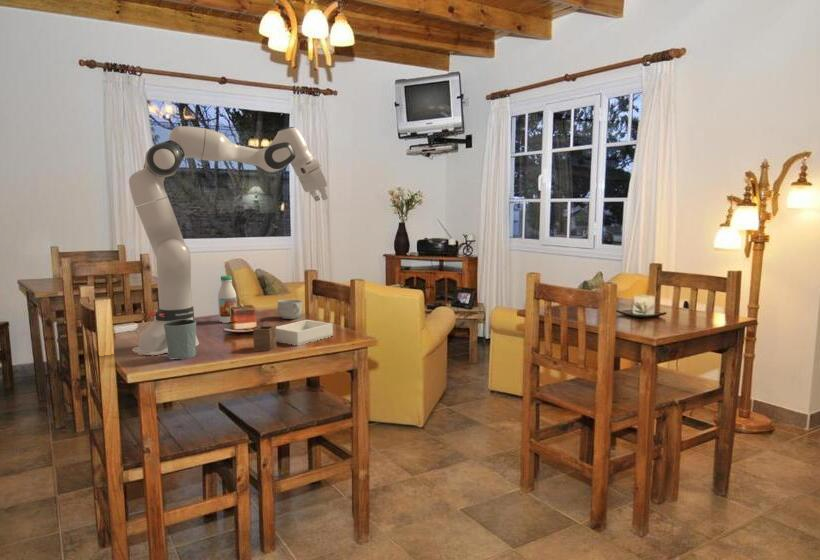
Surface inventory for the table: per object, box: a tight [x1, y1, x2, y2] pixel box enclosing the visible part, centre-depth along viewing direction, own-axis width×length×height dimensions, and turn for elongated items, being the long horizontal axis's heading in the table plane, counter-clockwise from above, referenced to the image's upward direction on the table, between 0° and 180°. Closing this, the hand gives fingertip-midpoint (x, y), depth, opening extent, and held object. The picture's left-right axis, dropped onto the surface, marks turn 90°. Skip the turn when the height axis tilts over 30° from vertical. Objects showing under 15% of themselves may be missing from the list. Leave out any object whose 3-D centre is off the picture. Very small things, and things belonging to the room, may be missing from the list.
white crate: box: [276, 319, 334, 347], centre depth 226 cm, size 18×14×5 cm
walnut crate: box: [252, 325, 278, 351], centre depth 212 cm, size 6×6×8 cm
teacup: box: [277, 299, 303, 320], centre depth 265 cm, size 14×11×8 cm
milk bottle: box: [217, 275, 238, 324], centre depth 259 cm, size 8×8×20 cm
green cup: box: [164, 319, 197, 359], centre depth 201 cm, size 10×10×12 cm
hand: (321, 200), depth 233 cm, fingers open, 8 cm apart
